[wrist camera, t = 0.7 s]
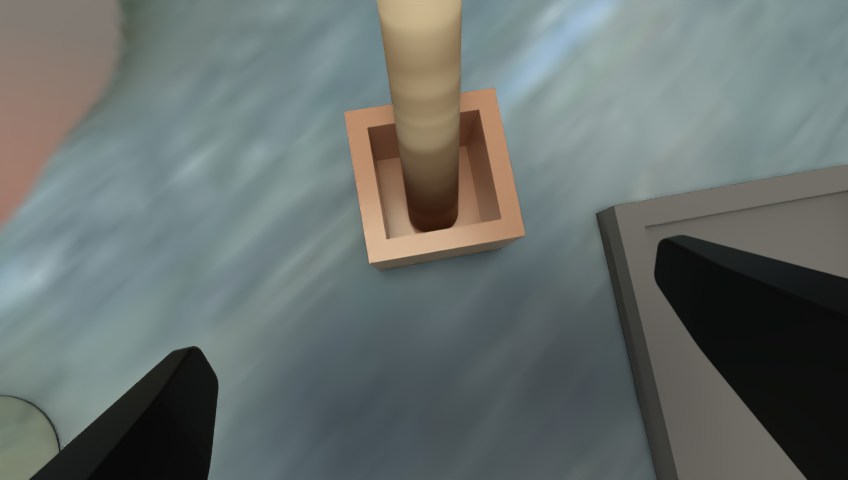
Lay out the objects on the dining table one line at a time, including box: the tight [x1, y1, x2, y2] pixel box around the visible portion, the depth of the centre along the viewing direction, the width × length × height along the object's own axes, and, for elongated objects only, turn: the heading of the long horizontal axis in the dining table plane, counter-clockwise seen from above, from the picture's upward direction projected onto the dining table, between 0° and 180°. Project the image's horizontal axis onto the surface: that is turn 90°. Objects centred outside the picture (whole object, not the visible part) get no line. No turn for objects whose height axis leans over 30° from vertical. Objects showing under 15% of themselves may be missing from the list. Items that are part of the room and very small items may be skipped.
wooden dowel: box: [377, 0, 462, 233], centre depth 16 cm, size 6×2×11 cm, turn 10°
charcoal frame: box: [596, 165, 848, 480], centre depth 21 cm, size 20×14×2 cm
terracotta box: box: [344, 88, 526, 270], centre depth 20 cm, size 6×6×5 cm
